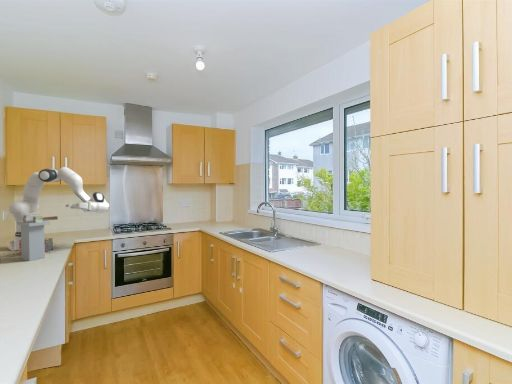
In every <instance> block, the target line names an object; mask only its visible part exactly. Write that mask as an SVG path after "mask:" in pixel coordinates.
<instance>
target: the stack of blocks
mask: <svg viewBox="0 0 512 384" xmlns="http://www.w3.org/2000/svg"><path fill="white" fill-rule="evenodd" d="M53 244H54V242H53V237H44V245H45V252H47V251H52V250H53V249H54V245H53ZM18 251H19V252H18V253H19V256H20V257H21V239H19V250H18Z"/></svg>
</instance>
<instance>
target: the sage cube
mask: <svg viewBox="0 0 512 384" xmlns="http://www.w3.org/2000/svg"><path fill="white" fill-rule="evenodd" d="M42 218H43V216H42V215H40V216H35V217H33V222H34V223H39V222H43V219H42Z"/></svg>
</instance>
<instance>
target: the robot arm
mask: <svg viewBox="0 0 512 384" xmlns="http://www.w3.org/2000/svg"><path fill="white" fill-rule="evenodd" d="M60 181H63V182H64V183H65V184H66V185H67V186H69V188H70V190H71V191H72V192H73V193H74V194H75V195H76V197H78V199H80V201H82V202H78V203H68V204H65V207H66V208H70V209H71V210H81V211H83V212H84V213H96V214H98V213H99V214H104V213H108V211H109V209H110V203H109V202H107V201H106V199H105V195H104V194H103V192H100V191H96V192H93V193H92V195H91V196H89V195H88V194H87V193H86V192H85V190H84V185H83V183H84V182H83V178H82V177H81V175H79V174H78V173H77V172H76V171H74V170H72V169H71V168H69V167H67V166H63V167H60V168H59V169H57V168H44V169H42V170H40V171H35V172H34V171H33V172H32V173H31V175H30V176H29V177H28V178H27V180H26V182H25V184H24V187H23V189H22V194H23V198H22V200H17V201H13V202H12V203H10V205H9V206H8V211H9V213H10V214H12V216H13V218H14V220H15V233H14V237H13V239H11V241H10V242H9V246H7V249H8V250H9V251H11V252H12V251H19V239H21V225H17V222H20V221H23V215H30V214H33V213H35V212H37V211H38V210H39V208H40V204H39V197H40V195H41V192H42V191H43V188H44V186H45V183H54V182H55V183H56V182H60Z"/></svg>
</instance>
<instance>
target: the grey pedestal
mask: <svg viewBox="0 0 512 384" xmlns="http://www.w3.org/2000/svg"><path fill="white" fill-rule="evenodd" d="M17 225H21V256H20V257H21V260H24V261H27V262H28V261H29V262H32V261H36V260H42V259H45V256H46V255H45V252H46V251H45V245H44V238H45V226H46V225H50V220H47V221H43V222H39V223H34V222H29V223H25V222H23V221H20V222H17Z"/></svg>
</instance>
